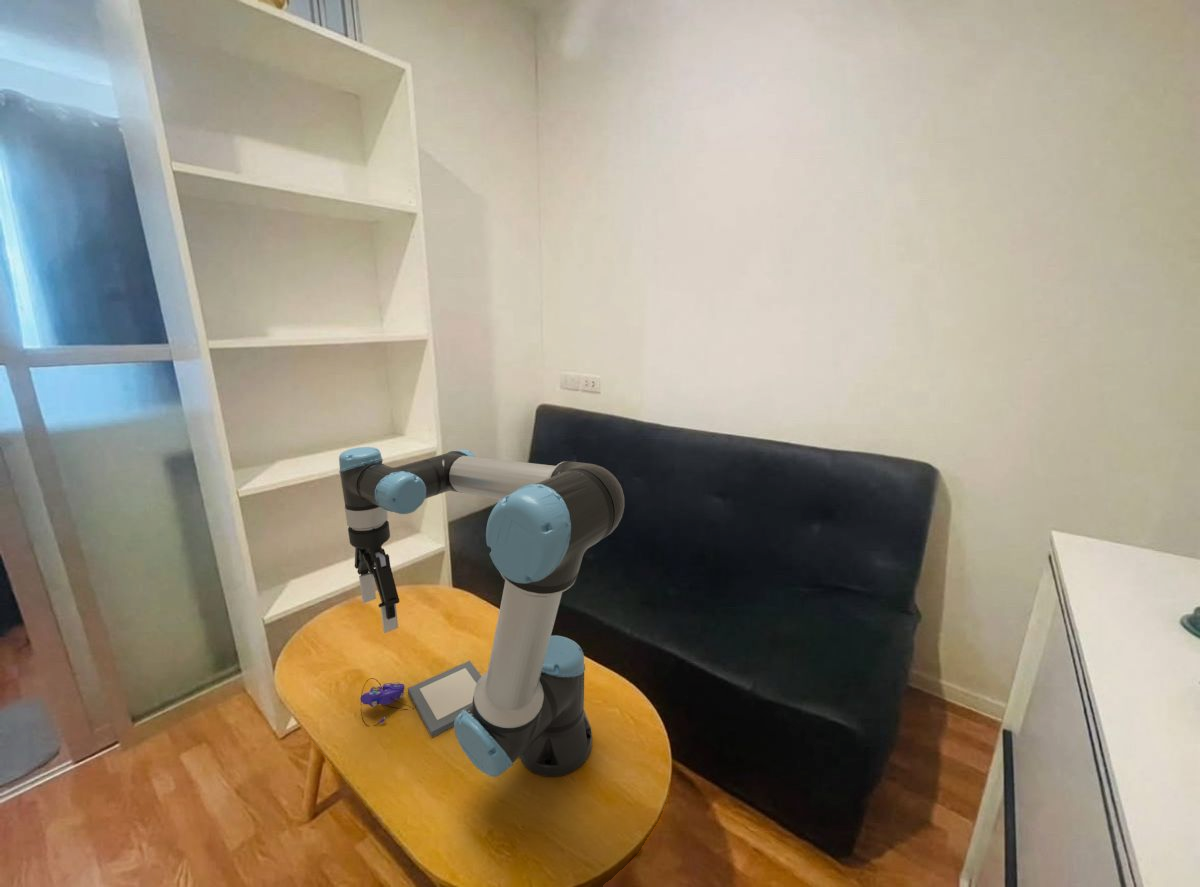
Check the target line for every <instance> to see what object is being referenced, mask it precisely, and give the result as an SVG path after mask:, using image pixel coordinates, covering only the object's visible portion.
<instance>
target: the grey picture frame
mask: <svg viewBox="0 0 1200 887" xmlns="http://www.w3.org/2000/svg"><path fill="white" fill-rule="evenodd" d="M481 676H482V675H481V673H480V672H479V671H478V669H477V668H476V667H475V665H474V664H473V663H472V662H471V660H468V661H466V662H464V663H461V664H459V665H456V666H455V667H454V666H453V667H451V668H449V669H447V670H445V671H442V672H441V673H439V674H437V675H434V676H432V677H429V678H427V679H425V680H423V681H421V682H418V683H417V684H414V685H411V686H409V687H408V688H407V693H408V696H409V698H410V699H411V701H412V703H413V705H414V707H415V709H416V711H417V712H418V714H419V716H420V718H421V721H422V722H423V723H424V726H425V727H426V730H427V731H428V733H429V735H430V737H431V738H432V739H433V738H434V737H437V736H439V735H440V734H443V733H444V732H446V731H448V730H449V729H452V728H454V721H455V719H456V717H457V716H458V715H459V714H460V713H461V711H462V710H465V709H467V708H468V707H469V706H470V705H471V704H472V701H473V696H474V691H475V687H476V685H477V682H478V681H479V679H480V678H481Z"/></svg>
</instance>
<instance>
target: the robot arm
mask: <svg viewBox="0 0 1200 887" xmlns="http://www.w3.org/2000/svg"><path fill="white" fill-rule="evenodd" d="M338 462H339V474H340V482H341V488H342V495H343V496H342V497H343V501H344V511H345V520H346V525H347V527H348V529H347V532H348V540H349V544H350V545H351V546H352V547H354V549H355V550H354V568H355V569H356V570H357V574H358V575H359V576H358V578H359V585H360V586H359V587H360V592H361V601H362V604H365V603H369V602H372V601H375V600H377V595H376V594H377V593H376V590H377V591H378V595H379V598H380V601H381V602H380V603H378V608H380V612H381V613H380V614H381V615H380V616H381V621H382V630H383V633H384V634H386V633H389V632H392V631H394V630H397V629H398V628H399V622H398V615H397V613H398V612H397V606H396V605H397V604H399V603H400V598H399V595H398V590H397V587H396V584H395V578H394V575H393V574H394V573H393V571H392V567H391V563H390V562H391V561H390V556H389V554H388V553H386V551H385V549H384V548H382V546H383V545H384V544H385V543H386V542H388V540H390V537H391V531H390V522H389V521H388V519H389V516H388V512H390V513H396V514H399V515H408V514H411V513H414V512H416V510H418V509H419V508H420V507H421V506H422V505H423V504H424V502H425V500H426V499H428V498H432V497H434V496H438V495H440V494H443V493H446V492H455V493H460V494H467V495H468V494H469V495H472V496H478V497H483V498H489V499H493V500H497V501H498V500H499V501H498V502H497V503H496V504H495V506H494V507H493V508H492V510H491V512H490V514H489V516H488V519H487V523H486V528H485V529H486V530H485V540H486V546H487V548H488V547H489V548H490V550H491V551H490V552H489V556H490V557H489V558H490V559H491V560H492V563H493V564H494V566H495V568H496V570H497V571H499V573H500V575H501V577H502V579H503V580H504V585H503V586H504V587H503V591H502V597H501V602H500V607H499V612H498V616H497V622H496V627H495V632H494V637H493V643H492V647H491V653H490V658H489V662H488V663H489V664H488V668H487V670H486V672H484V673H483V674H482V675H481V678H480V679H479V681H478V682H477V685H476V687H475V691H474V696H473V701H472V704H471V705H470V706H469V707H468V708H467V709H465V710H462V711H461V713H460V714H459V715H458V716H457V717H456V719H455V721H454V727H453V729H454V734H455V737H456V739H457V742H458V744H459V746H460V747H461V749H462V752H464V754H465V755H466V756H467V758H468V759H469V762H471V763H472V764H473V766H474V767H475V768H477V770H478V771H480V772H482V773H483V774H485V775H488V776H489V777H495V778H496V777H498V776H501V775H502V774H503V773H505V771H507V770H508V769H509V768H510V767H513V765H514V763H515V762H516V761H517V760H518V759H519V758H520V761H521V762H522V764H523V765H524V766H525V767H526V768H527V769H528V770H529V771H531V772H532V773H534V774H536V775H538V776H543V777H548V778H549V777H551V778H552V777H553V778H556V777H562V776H566V775H568V774H572V773H573V772H575V771H576V770H578V769H579V768H580V767H582V766H583V765H584V763H585V762H586V761H587V759H588V758H589V756H590V754H591V751H592V747H593V746H592V744H593V732H592V727H591V724H590V722H589V719H588V717H587V714H586V711H585V672H586V664H585V655H584V651H583V649H582V648H581V646H580V645H579V644H578V643H577V642H576V641H574V640H573V639H570V638H568V637H566V636H563V635H562V636H561V635H552V632H553V629H554V625H555V622H556V617H557V614H558V611H559V608H560V607H559V606H560V603H561V599H562V595H563V593H564V592H565V591H567V590H569V589H570V588H571V587H573V585H574V584H575V582H576V580H577V579H578V574H579V571H580V569H581V564H582V561H583V557H584V554H585V553H586V551H587V550H588V549H590V548H591V547H592V546H594V545H596V544H597V543H599V542H600V541H602V540H604V539H605V538H607V536H609V535H611V534H612V533H613V532H614V531H615V530H616V528H617V527H618V526H619V523H620V522H621V520H622V518H623V514H624V511H625V510H624V509H625V495H624V491H623V488H622V484H620V481H619V480H618V478H616V476H615V475H614V474H613V473H612V472H611V471H609V470H608V469H606V468H605V467H603V466H602V465H601V466H600V465H598V464H593V463H586V462H581V461H580V462H578V461H569V460H566V461H561V462H560V463H557V465H553V464H552V465H550V464H549V465H548V464H542V463H533V462H523V461H515V460H507V459H506V460H505V459H498V458H497V459H496V458H490V457H489V458H488V457H478V456H476V455H475V454H474V453H472V452H471V450H468V449H458V450H451V451H448V452H446V453H443V454H438V455H436V456H433V457H432V456H431V457H429V458H426V459H422V460H417V461H413V462H409V463H406V464H402V465H399V466H394V467H393V466H390V465H386V464H383V457H382V453H381V451H380V449H378V448H376V447H371V446H362V447H361V446H359V447H354V448H350V449H346V450H344V451H343V452H341V453H340V455H339V456H338ZM375 586H376V587H375Z"/></svg>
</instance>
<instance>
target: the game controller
mask: <svg viewBox="0 0 1200 887" xmlns="http://www.w3.org/2000/svg"><path fill="white" fill-rule="evenodd" d="M371 679H372V680H375V681H376V682H377V683H378V685H379V686H378V685H377V686H372V687H371V688H370V690H369V691H368V692H365V693H363V691H364V687H365V685H366V684H367V682H368V681H369V680H371ZM361 693H362V694H360V695H361V696H360V697H359V700H360V703H361V704H363V705H369V706H370V707H372V708H373V707H375V706H377V705H378V706H379V705H384V706H386V707H389V708H392V709H398V710H402V708H401V707H395V706H389V705H391V704H392V703H393V702H395V703H399V704H402V705H404V706H407V707H409V708H412V709H415V708H414V707H412V706H410V705H407V704H405V703H403V702H400V701H398V700H399V699H402V698H403V697H404V696H405V695H404V694H405V684H404V683H401V682H399V681H396V682H395V683H392V682H391V683H390V682H389V683H388V682H387V683H384V684H382V685H381V682H380V681H379V680H377V679H376V678H373V677H371V678H368V679H367V680H365V683H364V685H363V687H362V690H361ZM409 708H408V709H407V708H404V710H409ZM360 716H361V719H362V722H363V723H364V724H365V726H367V727H369V725H368V724H366V722H365V720H364V717H363V712H362V710H360ZM386 719H387V716H384V717H383V718H382V719H380V720H379V722H378V723H377V724H374V725H373V727H375V726H377V725H379V724H382V723H384V722H385V721H386Z"/></svg>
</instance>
